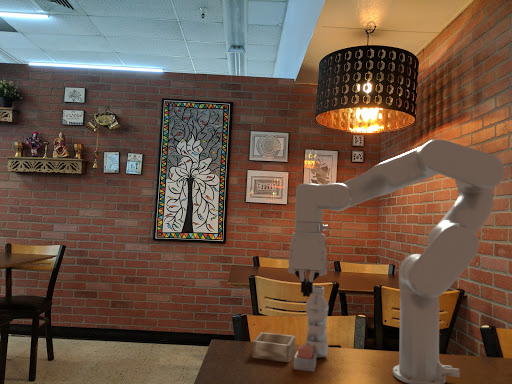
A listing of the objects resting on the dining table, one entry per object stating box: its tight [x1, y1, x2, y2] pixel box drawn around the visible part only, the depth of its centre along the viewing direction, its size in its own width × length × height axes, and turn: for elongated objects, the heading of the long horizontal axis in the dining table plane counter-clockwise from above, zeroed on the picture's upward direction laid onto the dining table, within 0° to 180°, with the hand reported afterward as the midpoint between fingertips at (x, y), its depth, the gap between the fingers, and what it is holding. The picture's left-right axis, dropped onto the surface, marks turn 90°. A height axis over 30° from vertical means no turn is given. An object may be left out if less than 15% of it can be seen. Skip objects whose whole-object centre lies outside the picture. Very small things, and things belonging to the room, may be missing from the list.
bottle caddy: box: [252, 331, 296, 363], centre depth 118 cm, size 11×10×4 cm
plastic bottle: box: [304, 285, 329, 359], centre depth 118 cm, size 6×7×20 cm
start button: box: [297, 343, 313, 359], centre depth 109 cm, size 4×4×3 cm
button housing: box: [293, 350, 317, 373], centre depth 109 cm, size 5×5×3 cm
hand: (306, 295), depth 110 cm, fingers closed
